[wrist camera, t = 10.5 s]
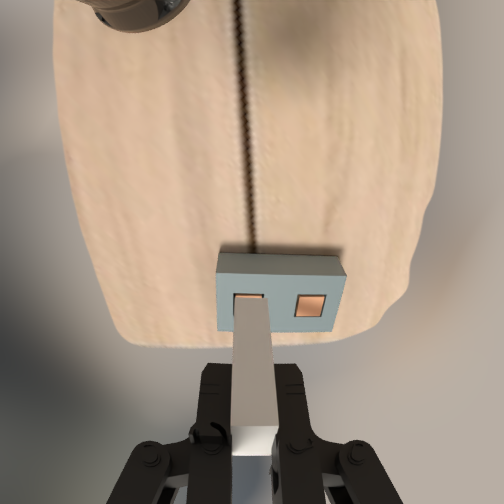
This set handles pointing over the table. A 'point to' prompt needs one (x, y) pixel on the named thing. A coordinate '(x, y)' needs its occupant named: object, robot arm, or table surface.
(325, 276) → the socket block
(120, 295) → the table surface
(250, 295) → the peg
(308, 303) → the peg
